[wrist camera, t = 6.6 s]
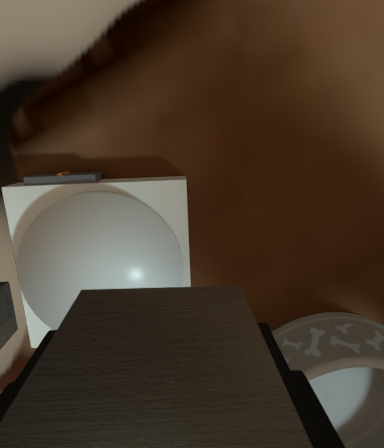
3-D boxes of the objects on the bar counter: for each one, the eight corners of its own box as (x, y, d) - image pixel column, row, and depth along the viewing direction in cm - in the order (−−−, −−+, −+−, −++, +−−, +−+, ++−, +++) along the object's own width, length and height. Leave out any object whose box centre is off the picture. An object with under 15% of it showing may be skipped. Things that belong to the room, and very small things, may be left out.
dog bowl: (445, 350, 31) (499, 393, 26) (343, 485, 35) (372, 546, 30) (293, 282, 29) (319, 314, 23) (202, 435, 32) (206, 492, 27)
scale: (185, 166, 25) (186, 170, 22) (191, 322, 29) (193, 346, 25) (16, 173, 25) (-9, 178, 21) (44, 330, 28) (25, 356, 25)
